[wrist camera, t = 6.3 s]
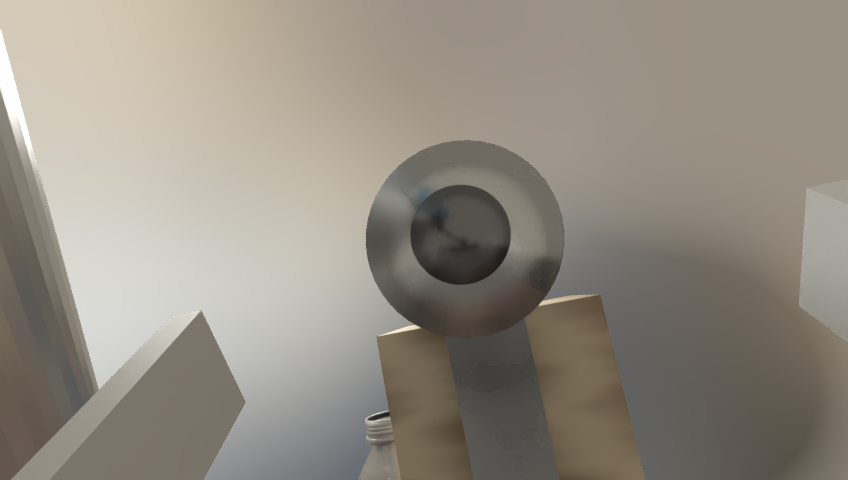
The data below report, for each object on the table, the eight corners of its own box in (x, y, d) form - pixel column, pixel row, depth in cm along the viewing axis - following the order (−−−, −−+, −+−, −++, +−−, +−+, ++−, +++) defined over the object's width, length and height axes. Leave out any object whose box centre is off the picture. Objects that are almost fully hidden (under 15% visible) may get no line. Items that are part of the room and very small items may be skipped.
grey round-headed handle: (465, 547, 21) (446, 748, 12) (398, 202, 23) (338, 154, 14) (600, 529, 21) (687, 729, 12) (522, 175, 22) (544, 106, 13)
